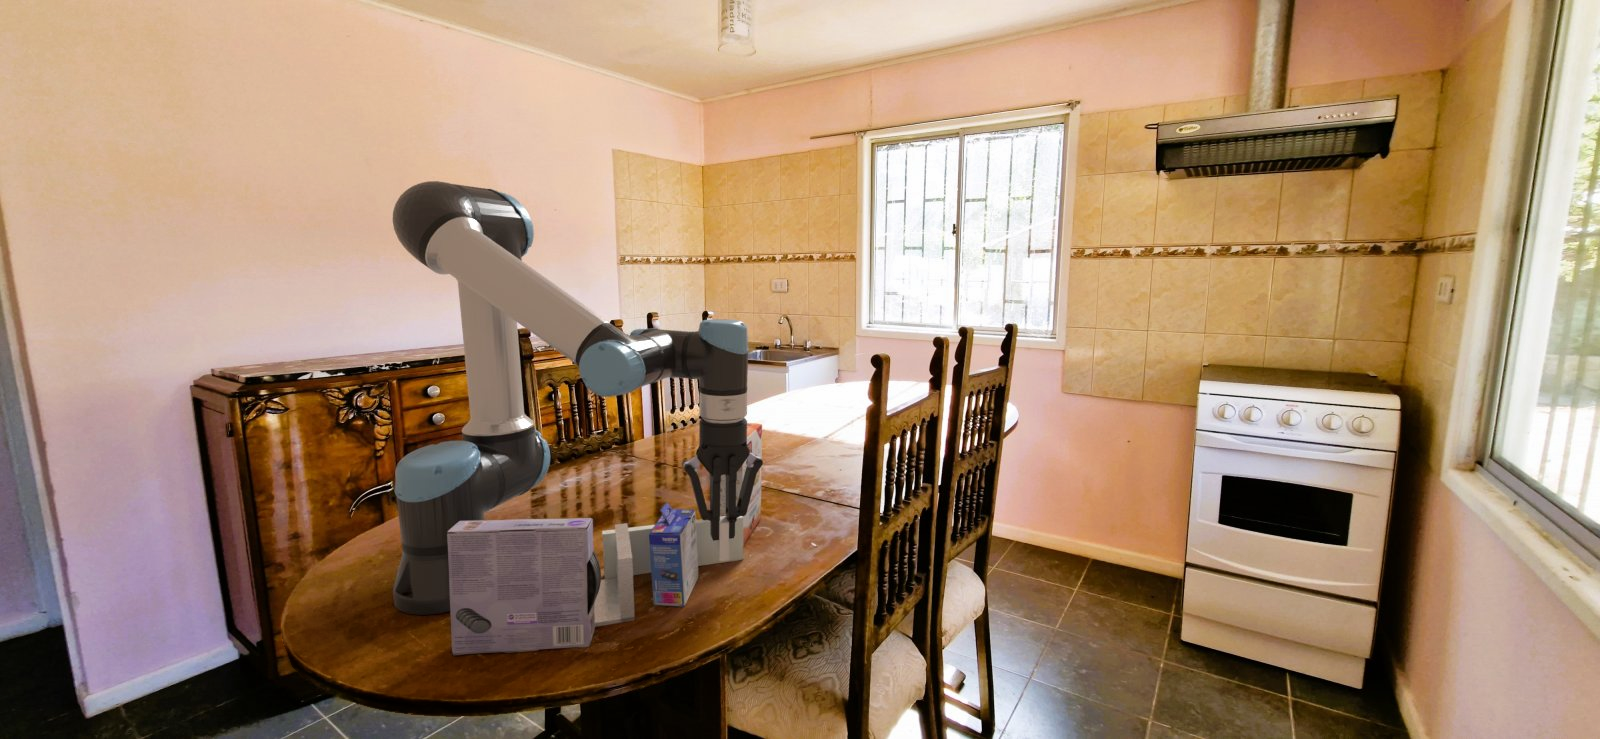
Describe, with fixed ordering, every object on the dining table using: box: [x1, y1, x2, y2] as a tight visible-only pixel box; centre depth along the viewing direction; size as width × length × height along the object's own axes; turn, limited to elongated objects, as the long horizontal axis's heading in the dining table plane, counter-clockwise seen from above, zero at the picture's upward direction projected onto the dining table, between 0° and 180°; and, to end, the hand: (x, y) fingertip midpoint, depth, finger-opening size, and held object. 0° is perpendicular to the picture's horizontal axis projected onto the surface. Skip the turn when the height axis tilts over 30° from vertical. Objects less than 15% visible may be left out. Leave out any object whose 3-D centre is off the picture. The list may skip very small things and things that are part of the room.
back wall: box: [601, 516, 744, 580], centre depth 109 cm, size 24×2×8 cm, turn 108°
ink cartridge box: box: [649, 502, 699, 607], centre depth 101 cm, size 10×6×14 cm, turn 176°
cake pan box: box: [447, 517, 602, 656], centre depth 86 cm, size 19×5×18 cm, turn 98°
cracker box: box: [720, 422, 763, 546], centre depth 123 cm, size 14×6×21 cm, turn 168°
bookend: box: [594, 522, 636, 628], centre depth 97 cm, size 8×13×10 cm, turn 18°
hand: (722, 556), depth 103 cm, fingers closed
